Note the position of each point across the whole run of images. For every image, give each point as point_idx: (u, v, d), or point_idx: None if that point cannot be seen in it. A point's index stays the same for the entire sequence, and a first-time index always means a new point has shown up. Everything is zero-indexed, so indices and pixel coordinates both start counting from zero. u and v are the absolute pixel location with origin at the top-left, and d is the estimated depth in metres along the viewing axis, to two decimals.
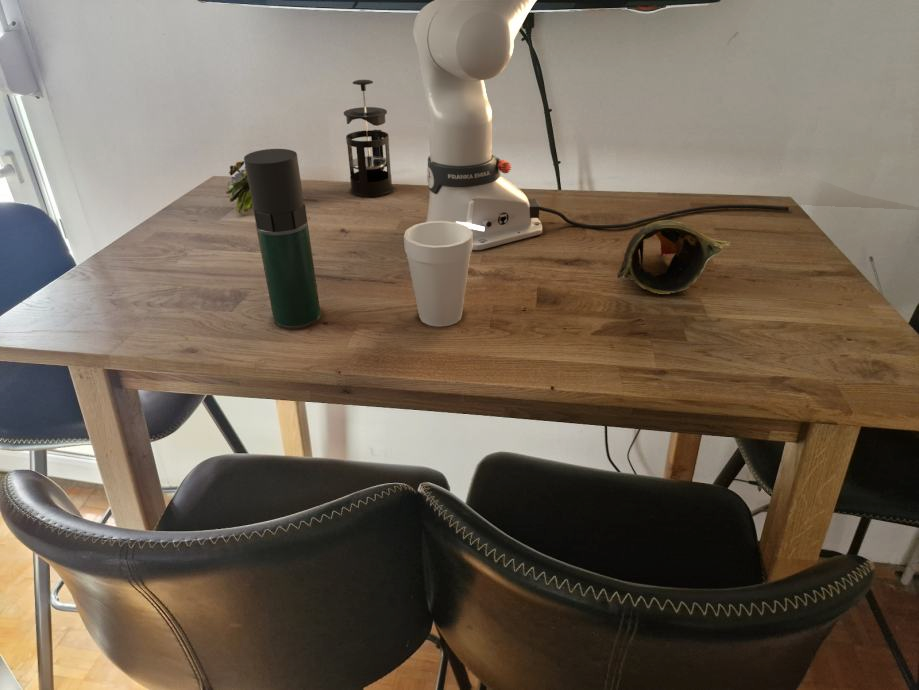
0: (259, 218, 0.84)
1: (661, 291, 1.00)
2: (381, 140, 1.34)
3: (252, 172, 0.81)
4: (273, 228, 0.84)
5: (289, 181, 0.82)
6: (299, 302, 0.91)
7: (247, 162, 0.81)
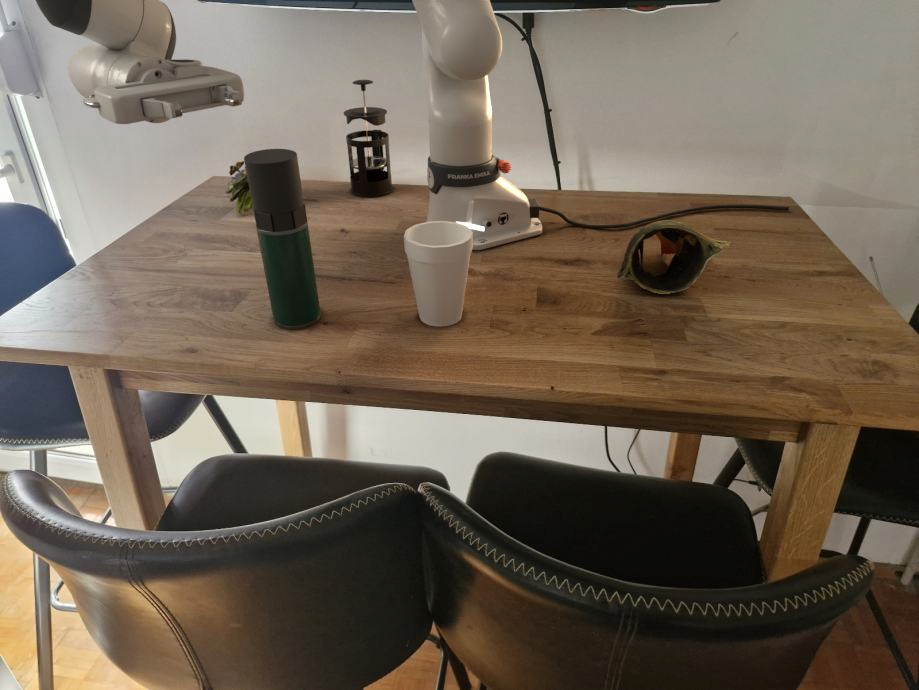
0: (259, 218, 0.84)
1: (661, 291, 1.00)
2: (381, 140, 1.34)
3: (252, 172, 0.81)
4: (273, 228, 0.84)
5: (289, 181, 0.82)
6: (299, 302, 0.91)
7: (247, 162, 0.81)
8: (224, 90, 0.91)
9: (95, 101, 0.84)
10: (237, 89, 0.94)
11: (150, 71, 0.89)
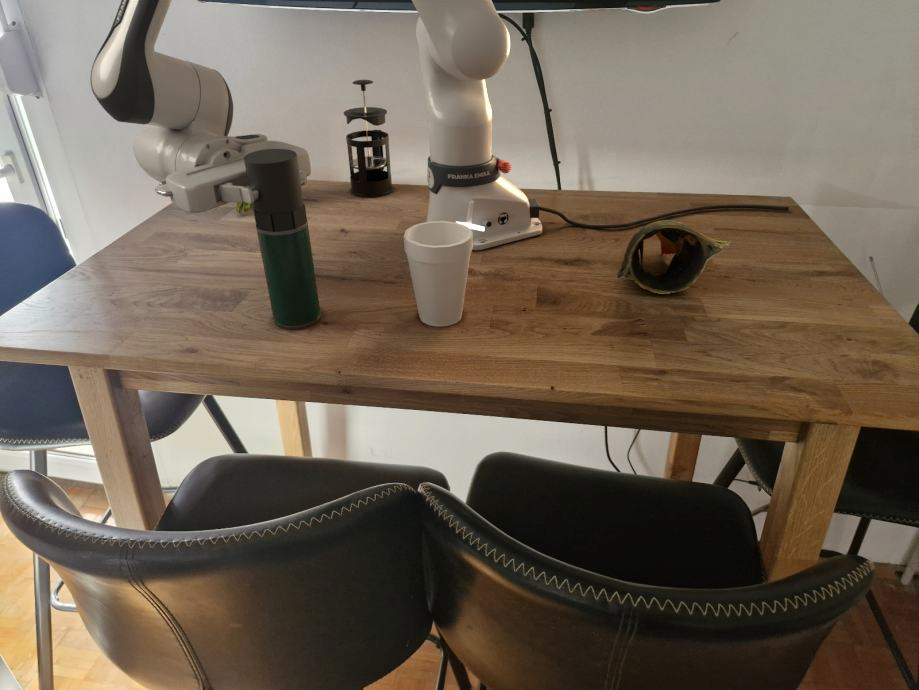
0: (259, 218, 0.84)
1: (661, 291, 1.00)
2: (381, 140, 1.34)
3: (252, 172, 0.81)
4: (273, 228, 0.84)
5: (289, 181, 0.82)
6: (299, 302, 0.91)
7: (247, 162, 0.81)
8: None
9: (167, 189, 0.83)
10: (304, 164, 0.92)
11: (219, 153, 0.88)
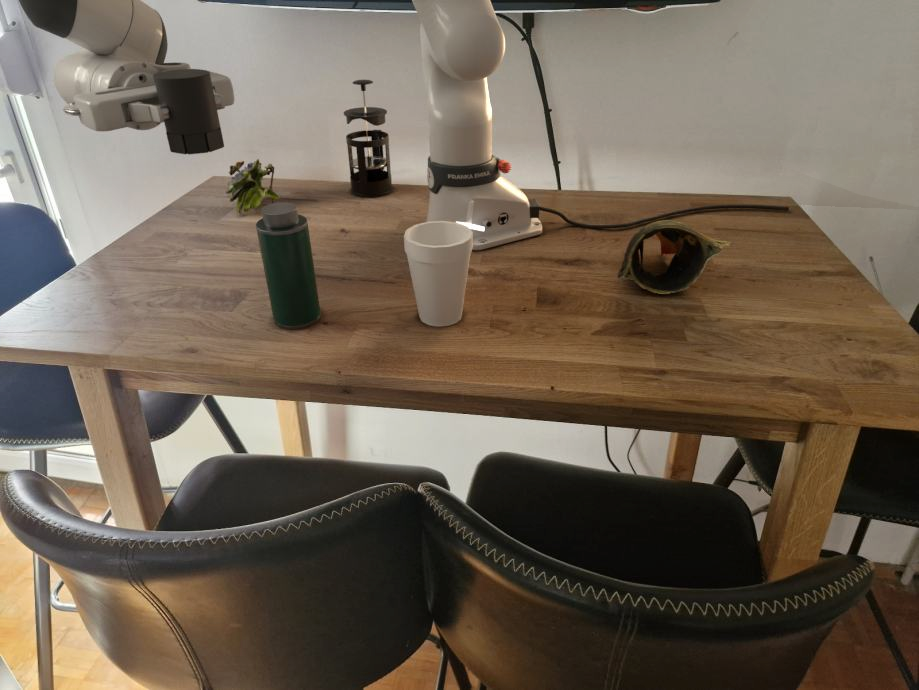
0: (171, 140, 0.82)
1: (661, 291, 1.00)
2: (381, 140, 1.34)
3: (161, 89, 0.78)
4: (186, 150, 0.82)
5: (201, 99, 0.80)
6: (299, 302, 0.91)
7: (155, 78, 0.78)
8: None
9: (75, 108, 0.80)
10: (226, 91, 0.90)
11: (133, 75, 0.85)
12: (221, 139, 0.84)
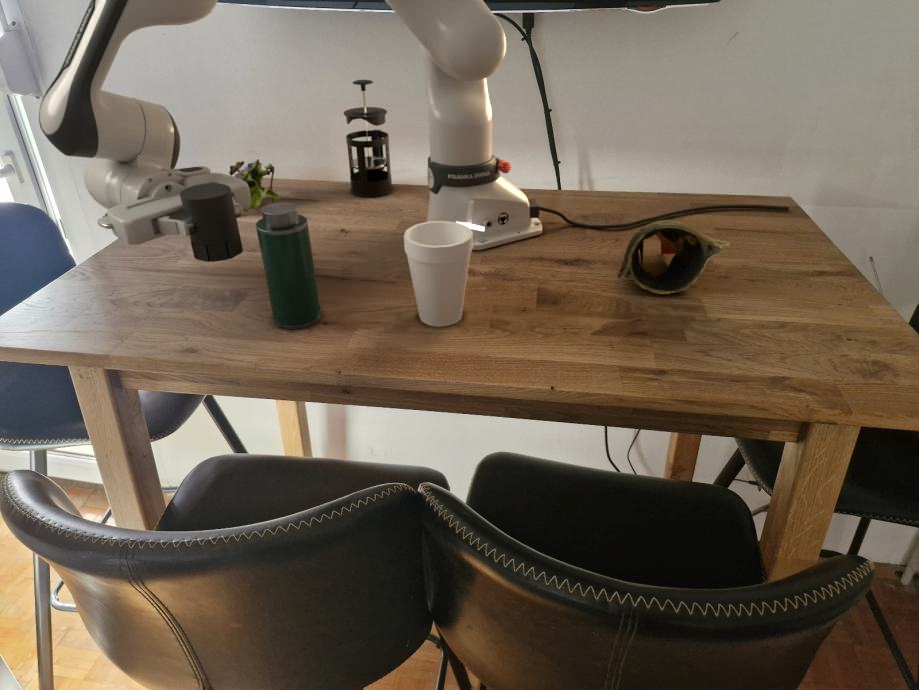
0: (195, 249, 0.90)
1: (661, 291, 1.00)
2: (381, 140, 1.34)
3: (187, 207, 0.86)
4: (208, 258, 0.90)
5: (223, 215, 0.88)
6: (299, 302, 0.91)
7: (182, 198, 0.86)
8: None
9: (108, 222, 0.88)
10: (244, 195, 0.98)
11: (160, 186, 0.93)
12: (240, 245, 0.92)
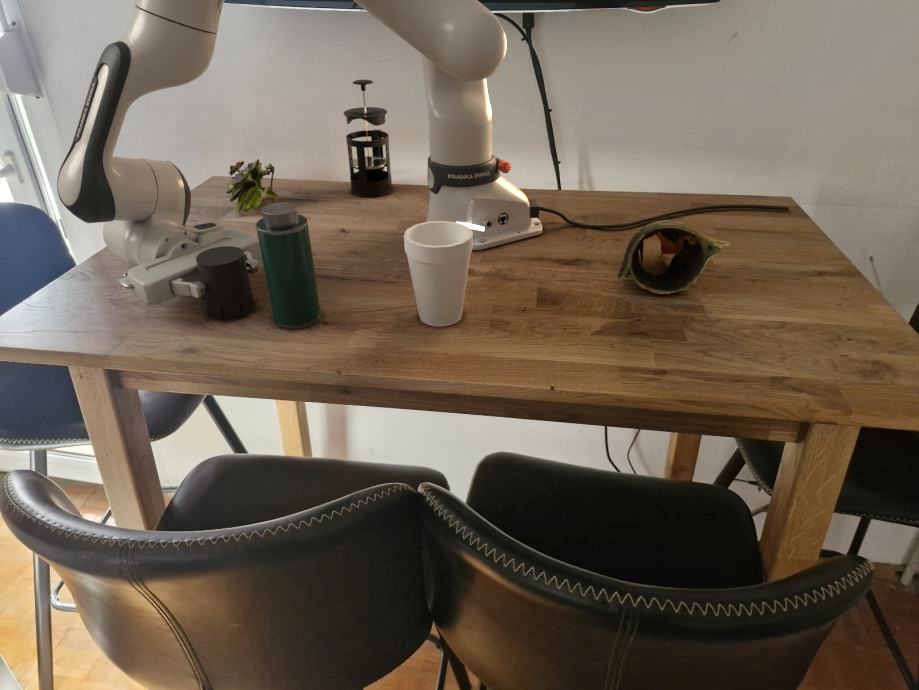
0: (210, 309, 0.95)
1: (661, 291, 1.00)
2: (381, 140, 1.34)
3: (203, 271, 0.91)
4: (223, 318, 0.95)
5: (236, 278, 0.93)
6: (299, 302, 0.91)
7: (198, 263, 0.91)
8: None
9: (129, 282, 0.93)
10: (256, 251, 1.02)
11: (177, 245, 0.98)
12: (253, 304, 0.97)
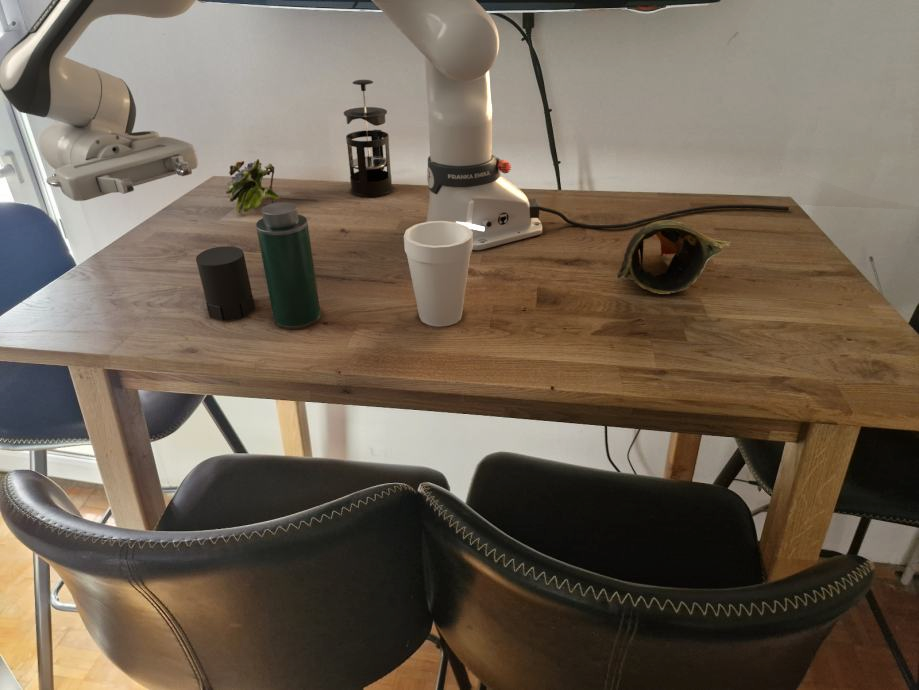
0: (210, 309, 0.95)
1: (661, 291, 1.00)
2: (381, 140, 1.34)
3: (203, 271, 0.91)
4: (223, 318, 0.95)
5: (236, 278, 0.93)
6: (299, 302, 0.91)
7: (198, 263, 0.91)
8: (176, 160, 1.00)
9: (56, 180, 0.93)
10: (190, 157, 1.02)
11: (107, 148, 0.98)
12: (253, 304, 0.97)
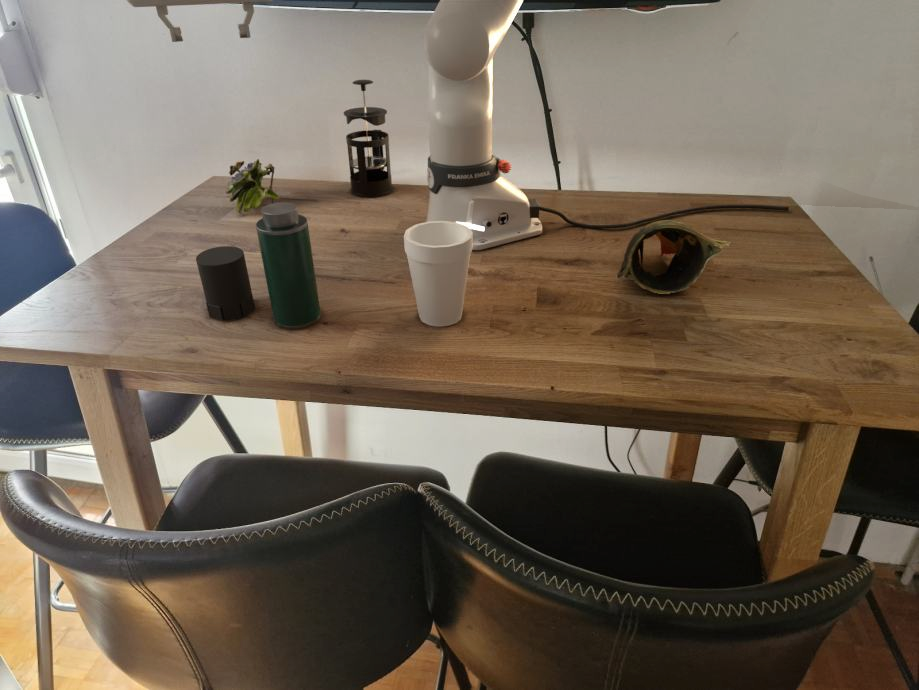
0: (210, 309, 0.95)
1: (661, 291, 1.00)
2: (381, 140, 1.34)
3: (203, 271, 0.91)
4: (223, 318, 0.95)
5: (236, 278, 0.93)
6: (299, 302, 0.91)
7: (198, 263, 0.91)
8: None
9: None
10: None
11: None
12: (253, 304, 0.97)
